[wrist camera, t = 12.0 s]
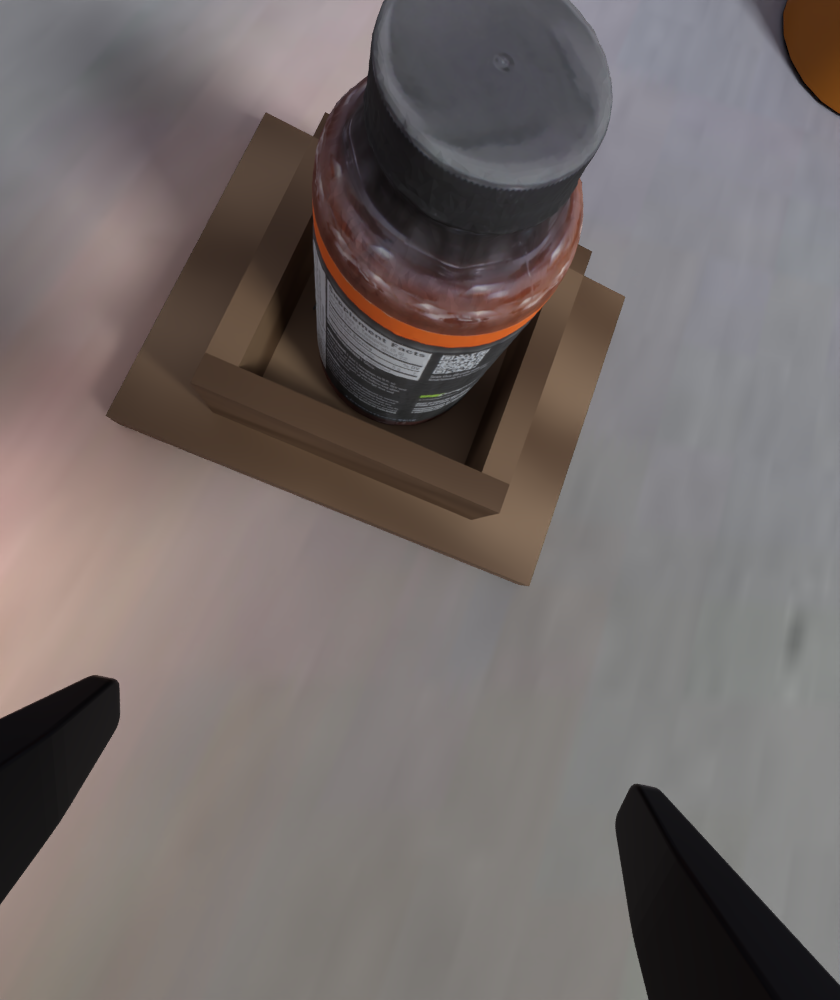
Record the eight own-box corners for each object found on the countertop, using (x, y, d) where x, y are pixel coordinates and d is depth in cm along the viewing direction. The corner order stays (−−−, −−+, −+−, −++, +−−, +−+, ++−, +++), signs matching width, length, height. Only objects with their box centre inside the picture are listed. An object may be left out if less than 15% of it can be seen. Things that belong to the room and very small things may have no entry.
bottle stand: (518, 584, 20) (567, 591, 16) (117, 423, 17) (58, 384, 13) (611, 308, 22) (674, 254, 18) (268, 134, 20) (255, 29, 16)
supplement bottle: (399, 250, 19) (508, -168, 8) (501, 365, 19) (740, 113, 8) (281, 342, 18) (215, -10, 7) (392, 463, 18) (504, 318, 7)
